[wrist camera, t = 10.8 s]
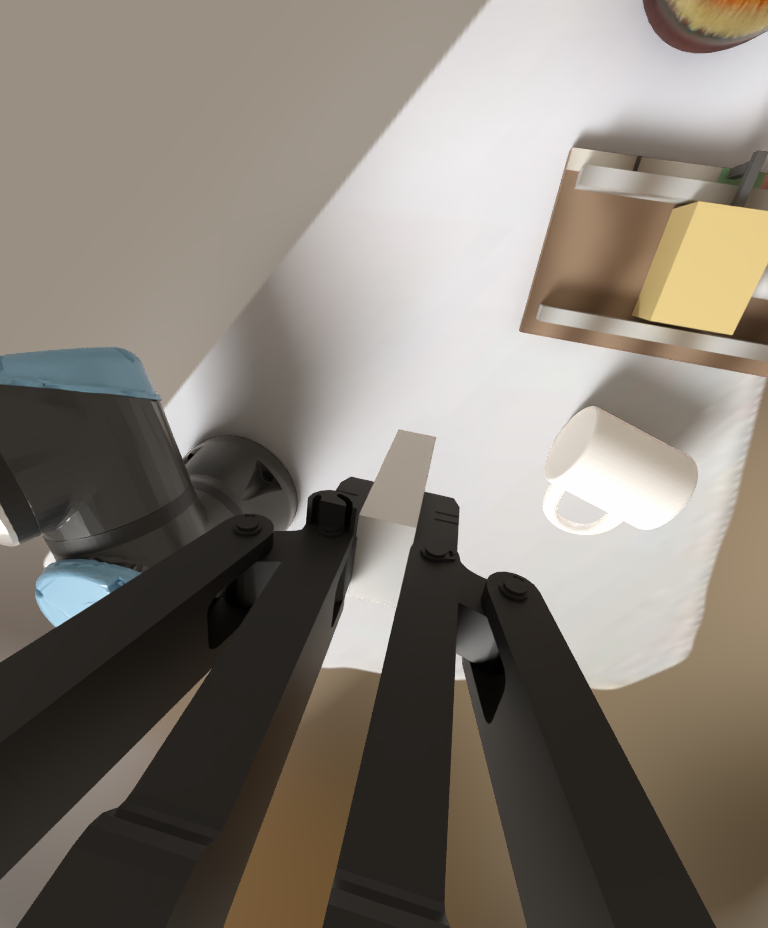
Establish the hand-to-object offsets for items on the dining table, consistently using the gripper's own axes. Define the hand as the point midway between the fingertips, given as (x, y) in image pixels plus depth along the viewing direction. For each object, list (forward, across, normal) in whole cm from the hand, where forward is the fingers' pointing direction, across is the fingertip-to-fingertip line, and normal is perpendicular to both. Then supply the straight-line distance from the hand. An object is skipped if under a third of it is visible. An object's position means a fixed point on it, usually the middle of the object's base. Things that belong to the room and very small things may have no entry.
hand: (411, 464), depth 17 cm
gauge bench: (+28, +18, +10) cm, 35 cm away
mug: (+29, +17, -9) cm, 34 cm away
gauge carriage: (+27, +20, +11) cm, 35 cm away
